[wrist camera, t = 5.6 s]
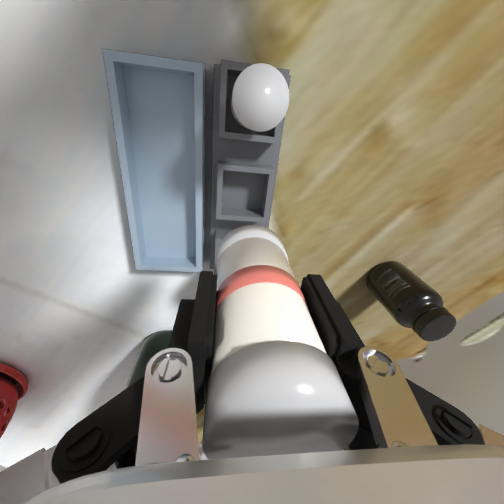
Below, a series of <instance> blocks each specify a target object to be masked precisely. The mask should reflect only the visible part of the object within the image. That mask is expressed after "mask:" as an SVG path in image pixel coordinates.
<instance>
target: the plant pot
mask: <svg viewBox="0 0 504 504" xmlns="http://www.w3.org/2000/svg"><path fill="white" fill-rule="evenodd" d="M27 389H28V383H27V380H26V378H25V377H24V376H23V374H22V373H21V372H19V371H17V370H16V369H14V368H12V367H10V366H8V365H5V364H2V363H0V438H1V436H2V435H3V433H4V431H5V430H6V428H7V426H8V424H9V422H10V420H11V418H12V416H13V414H14V412H15V409H16V405H17V401H18V400H19V399H20V398H22V397H23V396H24V395H25V394H26V392H27Z"/></svg>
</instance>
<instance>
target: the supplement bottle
mask: <svg viewBox="0 0 504 504" xmlns="http://www.w3.org/2000/svg"><path fill="white" fill-rule="evenodd" d="M367 286H368V288H369V290H370V291H371V292H372V294H373V295H374V296H375V297H376V298H377V299H378V301H379V302H380V303H381V304H382V305H383V306H384V308H385V309H386V310H387V311H388V312H389V313H390V315H391V316H392V317H393V318H394V319H395V320H396V321H397V322H398V323H399V324H400V325H402V326H404V327H407V328H412V329H413V330H414V332H416V333H417V334H418V335H419V336H420V337H421V338H422V339H423V340H425V341H435V340H439V339H441V338H443V337H445V336H447V335H448V334H449V333H450V332H452V330H453V329H454V327H455V325H456V319H455V317H454V316H453V315H451V314H450V313H449V312H448V310H447V309H445V308H444V307H443V300H442V298H441V296H440V295H439V294H438V293H437V292H436V291H435V290H434V289H432V288H431V287H430V286H429V285H427V284H426V283H425V282H424V281H422V280H421V279H420V278H419V277H417V276H416V275H415V274H414V273H412V272H411V271H410V270H409V269H408V268H406V267H405V266H404V265H402V264H401V263H399V262H395V261H389V262H384V263H382V264H380V265H378V266H376V267H375V268H374V269H373V270H372V271H371V272H370V274H369V276H368V278H367Z"/></svg>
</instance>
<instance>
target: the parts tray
mask: <svg viewBox="0 0 504 504" xmlns="http://www.w3.org/2000/svg"><path fill="white" fill-rule="evenodd" d="M102 51H103V57H104V64H105V70H106V77H107V83H108V90H109V96H110V103H111V110H112V116H113V123H114V129H115V136H116V142H117V149H118V155H119V162H120V168H121V175H122V181H123V188H124V194H125V201H126V208H127V214H128V221H129V227H130V234H131V240H132V247H133V253H134V260H135V266H136V270H153V271H180V272H201V271H202V269H203V264H204V177H205V67H204V65H203V63H199V62H192V61H185V60H178V59H171V58H164V57H157V56H150V55H144V54H137V53H130V52H123V51H116V50H109V49H102Z"/></svg>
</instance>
